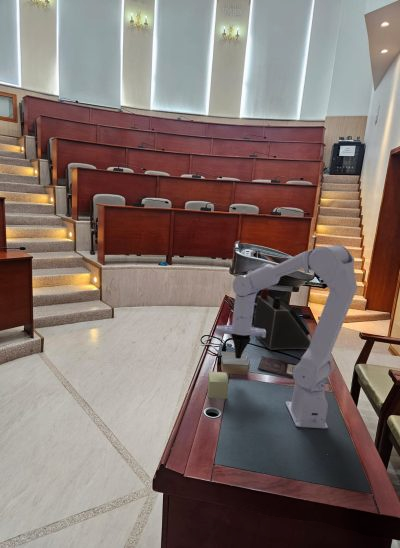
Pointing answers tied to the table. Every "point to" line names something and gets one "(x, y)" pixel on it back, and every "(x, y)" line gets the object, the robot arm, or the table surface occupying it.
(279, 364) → the chocolate bar
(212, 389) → the olive cube
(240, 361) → the beech slab
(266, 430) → the table surface
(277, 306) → the voltmeter
